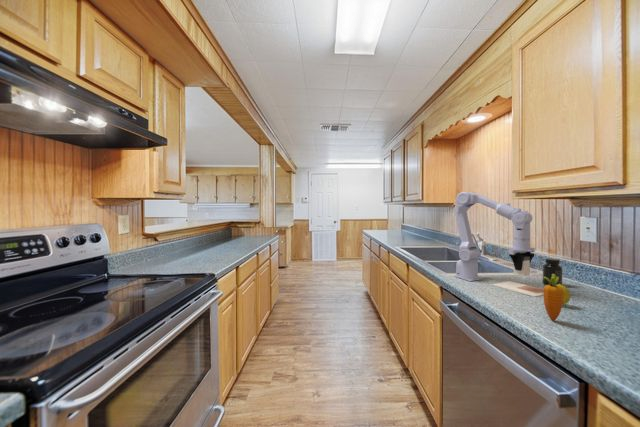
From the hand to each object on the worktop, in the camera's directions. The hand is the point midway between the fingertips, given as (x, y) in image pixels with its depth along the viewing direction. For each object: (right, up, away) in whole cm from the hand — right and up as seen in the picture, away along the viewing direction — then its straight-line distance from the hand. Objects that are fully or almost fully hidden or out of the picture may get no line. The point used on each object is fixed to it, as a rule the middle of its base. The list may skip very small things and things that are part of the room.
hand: (521, 269), depth 117 cm
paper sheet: (+1, -9, +2) cm, 9 cm away
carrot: (-14, -10, -31) cm, 35 cm away
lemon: (+1, -10, -18) cm, 20 cm away
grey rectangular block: (0, -2, 0) cm, 2 cm away
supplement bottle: (+20, -9, +7) cm, 23 cm away
